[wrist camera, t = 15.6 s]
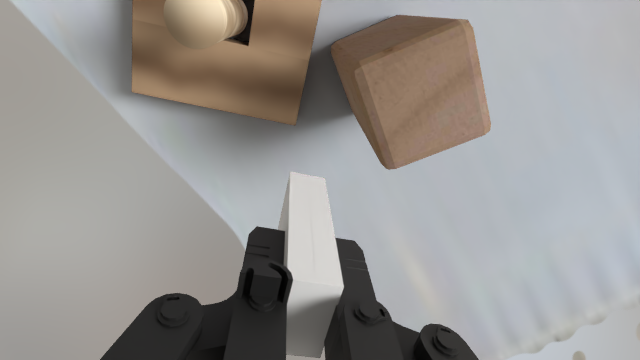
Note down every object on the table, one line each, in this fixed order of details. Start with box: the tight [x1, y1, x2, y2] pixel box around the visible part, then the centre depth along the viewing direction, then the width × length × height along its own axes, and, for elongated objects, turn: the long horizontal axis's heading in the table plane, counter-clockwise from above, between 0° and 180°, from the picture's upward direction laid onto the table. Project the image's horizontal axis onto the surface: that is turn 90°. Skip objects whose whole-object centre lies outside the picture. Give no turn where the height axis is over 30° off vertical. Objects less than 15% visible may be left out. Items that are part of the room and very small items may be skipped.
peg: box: [164, 0, 248, 49], centre depth 35 cm, size 5×5×18 cm
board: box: [132, 0, 322, 125], centre depth 41 cm, size 22×20×4 cm
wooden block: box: [331, 15, 491, 169], centre depth 38 cm, size 10×10×20 cm
